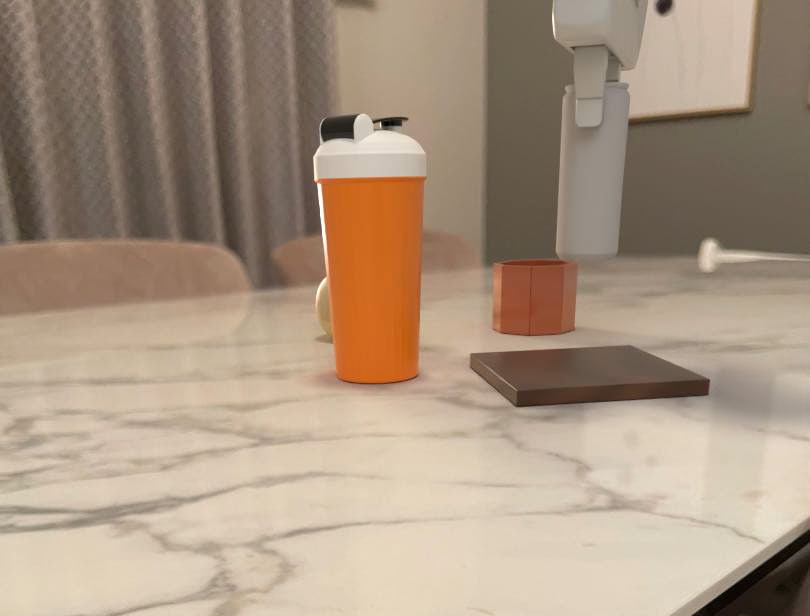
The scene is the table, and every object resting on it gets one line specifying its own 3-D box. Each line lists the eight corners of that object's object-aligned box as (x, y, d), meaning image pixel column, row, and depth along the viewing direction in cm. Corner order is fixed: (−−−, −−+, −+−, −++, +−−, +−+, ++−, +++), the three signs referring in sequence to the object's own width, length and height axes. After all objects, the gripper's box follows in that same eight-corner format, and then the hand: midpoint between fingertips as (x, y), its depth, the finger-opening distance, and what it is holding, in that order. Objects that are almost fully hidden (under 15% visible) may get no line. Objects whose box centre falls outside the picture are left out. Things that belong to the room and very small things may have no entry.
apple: (406, 328, 93) (403, 269, 87) (359, 369, 90) (353, 311, 83) (352, 301, 96) (345, 243, 90) (304, 340, 93) (295, 281, 86)
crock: (557, 321, 98) (560, 258, 95) (582, 332, 91) (586, 264, 88) (487, 324, 97) (488, 260, 94) (506, 336, 89) (508, 267, 87)
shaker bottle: (448, 370, 74) (448, 115, 66) (390, 391, 67) (381, 109, 59) (366, 361, 79) (357, 122, 71) (304, 379, 72) (286, 117, 64)
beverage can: (542, 259, 66) (549, 86, 61) (580, 255, 69) (590, 89, 64) (592, 263, 63) (604, 80, 58) (630, 258, 66) (644, 83, 61)
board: (629, 358, 77) (630, 344, 77) (708, 394, 64) (710, 379, 63) (469, 366, 75) (470, 353, 75) (516, 406, 62) (517, 390, 61)
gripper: (644, -158, 47) (624, 119, 52) (665, -67, 65) (649, 133, 70) (532, -142, 49) (524, 124, 54) (582, -58, 67) (572, 136, 72)
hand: (595, 129), depth 62 cm, fingers closed on beverage can, 5 cm apart
